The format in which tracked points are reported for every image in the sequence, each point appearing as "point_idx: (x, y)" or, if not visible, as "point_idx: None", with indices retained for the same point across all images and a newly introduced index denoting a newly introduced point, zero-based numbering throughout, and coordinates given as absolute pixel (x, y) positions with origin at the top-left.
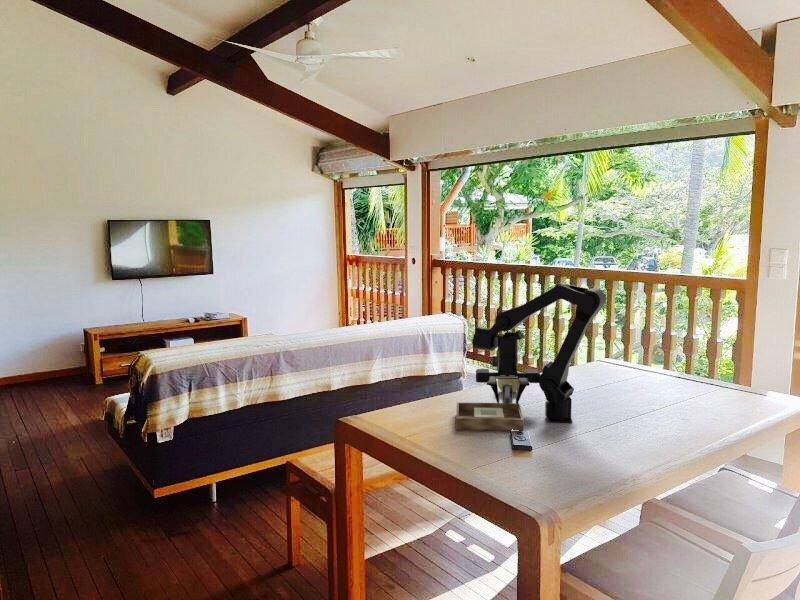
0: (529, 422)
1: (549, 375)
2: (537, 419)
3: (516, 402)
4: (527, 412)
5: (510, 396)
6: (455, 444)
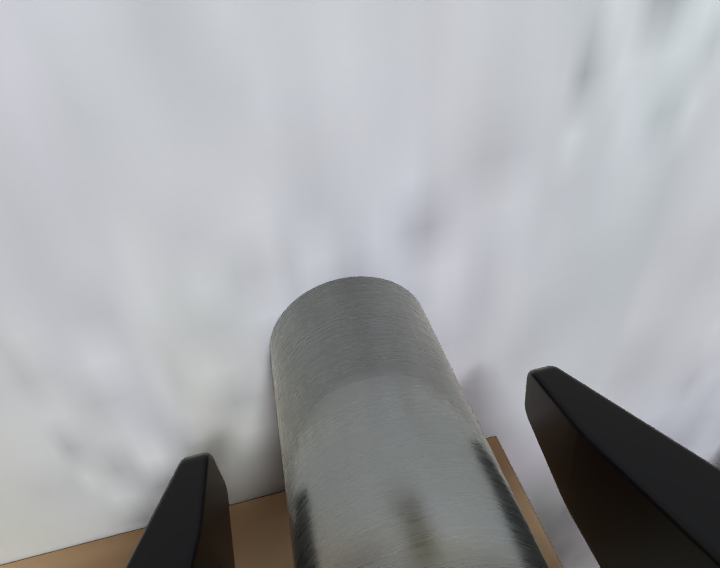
0: (564, 540)
1: None
2: None
3: (545, 451)
4: (619, 331)
5: None
6: None
